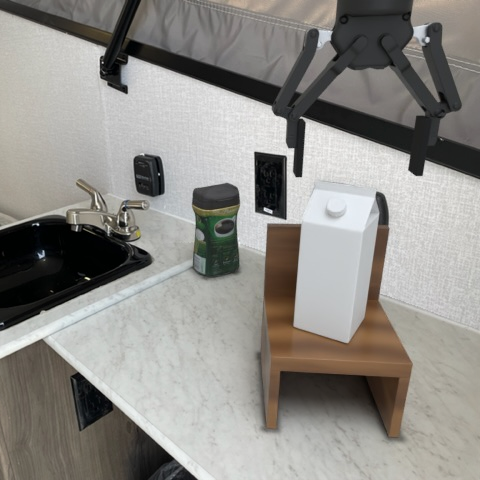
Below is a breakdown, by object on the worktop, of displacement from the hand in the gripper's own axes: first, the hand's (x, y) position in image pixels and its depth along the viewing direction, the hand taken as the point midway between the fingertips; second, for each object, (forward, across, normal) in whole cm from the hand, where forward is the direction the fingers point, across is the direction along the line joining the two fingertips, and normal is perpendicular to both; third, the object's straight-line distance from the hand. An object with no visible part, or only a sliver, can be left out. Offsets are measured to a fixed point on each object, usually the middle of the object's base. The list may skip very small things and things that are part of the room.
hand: (355, 174), depth 60 cm
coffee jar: (+31, -18, +36) cm, 50 cm away
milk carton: (+20, -2, -2) cm, 20 cm away
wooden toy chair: (+31, -2, -2) cm, 31 cm away
